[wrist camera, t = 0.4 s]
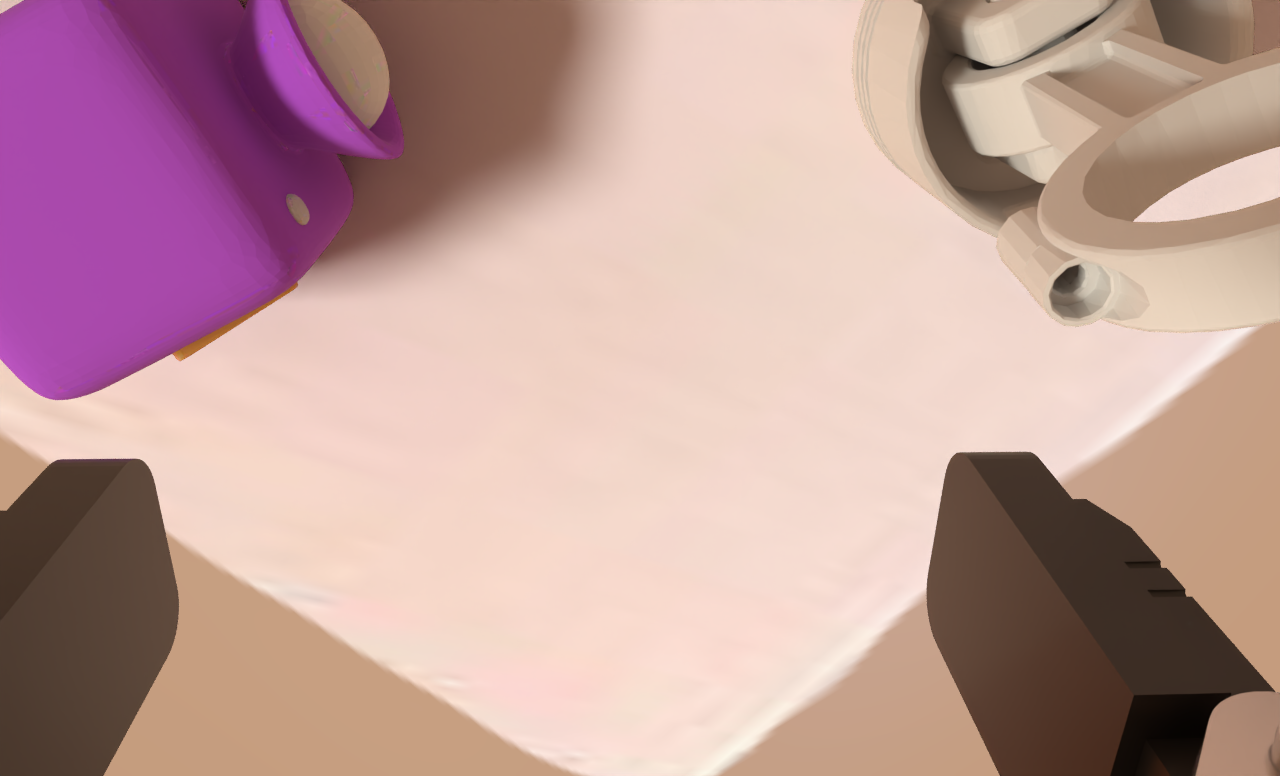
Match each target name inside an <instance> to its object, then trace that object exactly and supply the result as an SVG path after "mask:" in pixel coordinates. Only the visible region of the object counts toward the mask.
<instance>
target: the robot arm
mask: <svg viewBox="0 0 1280 776" xmlns="http://www.w3.org/2000/svg"><path fill="white" fill-rule="evenodd" d="M1160 562H1161V561H1160V560H1159V559H1158V558H1157V556H1156V555H1155V554H1154V553H1153V552H1152V551H1151V550H1150V548H1149V547H1148V546H1147V545H1146V544H1145V543H1144V542H1143V540H1142V539H1141V538H1140V537H1139V536H1138V535H1137V534H1136V533H1135V531H1133V529H1132V528H1131V527H1130V526H1128V525H1126V524H1125V523H1123V522H1122V521H1120V520H1118V519H1117V518H1115V517H1114V516H1112V515H1110V514H1109V513H1107V512H1106V511H1104V510H1102V509H1101V508H1099V507H1098V506H1096V505H1094V504H1093V503H1091V502H1090V501H1088V500H1087V499H1072V498H1071V497H1070V496H1069V494H1068V493H1067V492H1066V491H1065V489H1064V488H1063V487H1062V486H1061V485H1060V483H1059V482H1058V481H1057V480H1056V478H1055V477H1054V476H1053V475H1052V474H1051V472H1050V471H1049V470H1048V469H1047V468H1046V466H1045V465H1044V464H1043V463H1042V461H1041V460H1040V459H1039V458H1038V457H1037V456H1036V455H1035V454H1033V453H1031V452H961V453H956V454H955V455H954V456H953V457H952V458H951V460H950V462H949V464H948V467H947V470H946V474H945V479H944V485H943V490H942V496H941V502H940V508H939V514H938V520H937V525H936V531H935V537H934V543H933V549H932V555H931V560H930V566H929V572H928V579H927V608H928V616H929V622H930V626H931V630H932V633H933V637H934V639H935V641H936V643H937V646H938V648H939V650H940V652H941V654H942V656H943V658H944V660H945V662H946V664H947V666H948V668H949V671H950V673H951V675H952V677H953V679H954V681H955V683H956V685H957V687H958V689H959V691H960V694H961V695H962V698H963V700H964V702H965V704H966V706H967V708H968V710H969V712H970V714H971V716H972V718H973V721H974V723H975V724H976V727H977V728H978V731H979V733H980V735H981V737H982V739H983V741H984V743H985V746H986V747H987V750H988V752H989V754H990V756H991V758H992V760H993V762H994V764H995V766H996V768H997V771H998V773H999V775H1000V776H1280V693H1278V692H1275V691H1274V690H1273V688H1272V687H1271V686H1270V685H1269V684H1268V683H1267V682H1266V680H1264V678H1263V677H1262V676H1261V675H1260V674H1259V672H1257V670H1256V669H1255V668H1254V667H1253V666H1252V665H1251V663H1250V662H1249V661H1248V660H1247V659H1246V658H1245V657H1244V656H1243V654H1242V653H1241V652H1240V651H1239V650H1238V649H1237V647H1236V646H1235V645H1234V644H1233V643H1232V642H1231V641H1230V639H1229V638H1228V637H1227V636H1226V635H1225V634H1224V633H1223V631H1222V630H1221V629H1220V628H1219V627H1218V626H1217V625H1216V623H1215V622H1214V621H1213V620H1212V619H1211V618H1210V617H1209V616H1208V615H1207V613H1206V612H1205V611H1204V610H1203V609H1202V608H1201V606H1200V605H1199V604H1198V603H1197V602H1196V601H1195V600H1194V598H1193V597H1186V594H1185V588H1184V587H1183V586H1182V585H1181V584H1180V583H1179V581H1178V580H1177V579H1176V578H1175V577H1174V576H1173V575H1172V573H1171V572H1170V571H1169V570H1168V569H1167V568H1161V565H1160ZM178 612H179V599H178V590H177V584H176V580H175V575H174V570H173V566H172V561H171V557H170V552H169V547H168V543H167V538H166V533H165V529H164V524H163V519H162V515H161V510H160V505H159V501H158V496H157V491H156V487H155V483H154V479H153V476H152V473H151V471H150V469H149V467H148V466H147V465H146V464H145V462H143V461H142V460H140V459H62V460H56V461H54V462H52V463H51V464H50V465H49V466H48V467H47V468H46V469H45V470H44V471H43V472H42V473H41V474H40V475H39V476H38V477H37V479H36V480H35V481H34V482H33V483H32V484H31V485H30V486H29V487H28V488H27V489H26V490H25V491H24V492H23V494H22V495H21V496H20V497H19V498H18V499H17V500H16V501H15V502H14V503H13V504H12V505H11V506H10V508H9V509H8V510H7V511H0V776H103V775H104V773H105V772H106V770H107V768H108V766H109V764H110V762H111V760H112V759H113V757H114V755H115V753H116V751H117V749H118V748H119V746H120V744H121V742H122V740H123V738H124V736H125V735H126V733H127V731H128V729H129V727H130V725H131V724H132V721H133V720H134V718H135V716H136V714H137V712H138V711H139V708H140V707H141V705H142V703H143V701H144V699H145V698H146V696H147V694H148V692H149V690H150V688H151V687H152V685H153V683H154V681H155V679H156V677H157V675H158V673H159V672H160V670H161V668H162V666H163V664H164V662H165V661H166V659H167V657H168V655H169V653H170V651H171V648H172V645H173V642H174V639H175V635H176V630H177V623H178Z"/></svg>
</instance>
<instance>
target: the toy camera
mask: <svg viewBox="0 0 1280 776" xmlns="http://www.w3.org/2000/svg"><path fill="white" fill-rule="evenodd" d="M389 84H390V79H389V70H388V64H387V61H386V58H385V54H384V51H383V49H382V47H381V45H380V43H379V41H378V39H377V37H376V35H375V34H374V32H373V31H372V29H371V28H370V27H369V25H368V24H367V22H366V21H365V20H364V19H363V18H362V17H361V16H360V15H359V14H358V13H357V12H356V11H355V10H354V9H352V8H351V7H349V6H348V5H347V4H345V3H344V2H343V1H341V0H248V1H247V4H246V7H245V10H244V8H243V7H242V5H241V4H240V2H239V1H238V0H24V1H22V2H20V3H19V4H17V5H15V6H13V7H12V8H10V9H8V10H7V11H5V12H3V13H1V14H0V359H1V360H2V361H3V362H4V364H5V365H6V366H7V367H8V368H9V369H10V370H11V371H12V372H13V373H14V374H15V375H16V376H17V377H18V378H19V379H20V380H21V381H22V382H23V383H24V384H25V385H27V386H28V387H29V388H30V389H32V390H33V391H34V392H36V393H37V394H39V395H41V396H43V397H46V398H48V399H53V400H68V399H73V398H78V397H82V396H85V395H88V394H91V393H93V392H96V391H99V390H101V389H103V388H105V387H108V386H110V385H112V384H114V383H116V382H118V381H120V380H122V379H124V378H125V377H127V376H129V375H131V374H133V373H135V372H137V371H139V370H141V369H143V368H145V367H147V366H149V365H151V364H153V363H155V362H157V361H159V360H161V359H163V358H164V357H166V356H168V355H170V354H173V355H174V356H175V358H176V359H177V360H179V361H181V360H183V359H185V358H187V357H189V356H190V355H192V354H193V353H195V352H197V351H198V350H200V349H201V348H203V347H205V346H206V345H208V344H209V343H211V342H212V341H214V340H216V339H217V338H219V337H220V336H222V335H223V334H225V333H227V332H228V331H230V330H231V329H233V328H234V327H236V326H238V325H239V324H241V323H242V322H244V321H245V320H247V319H248V318H250V317H252V316H253V315H255V314H256V313H258V312H259V311H261V310H263V309H264V308H266V307H267V306H269V305H270V304H272V303H274V302H275V301H277V300H278V299H280V298H281V297H283V296H285V295H286V294H288V293H289V292H291V291H292V290H294V289H295V288H296V287H297V286H298V283H297V281H298V280H299V279H300V278H301V277H302V276H303V275H304V274H305V273H306V272H307V271H308V270H309V268H310V267H311V266H312V265H313V264H314V263H315V261H316V260H317V259H318V258H319V256H320V255H321V254H322V252H323V251H324V250H325V249H326V247H327V246H328V245H329V244H330V242H331V241H332V240H333V238H334V237H335V235H336V234H337V233H338V231H339V230H340V229H341V227H342V226H343V224H344V223H345V221H346V220H347V218H348V216H349V214H350V212H351V209H352V206H353V198H354V195H353V188H352V185H351V182H350V180H349V177H348V175H347V173H346V171H345V169H344V167H343V164H342V163H341V161H340V159H339V158H338V156H337V154H343V155H348V156H355V157H363V158H370V159H395V158H398V157H399V156H401V155H402V153H403V150H404V136H403V131H402V127H401V122H400V119H399V116H398V113H397V110H396V107H395V104H394V102H393V99H392V96H391V94H390V92H389ZM336 153H337V154H336Z"/></svg>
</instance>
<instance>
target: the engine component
mask: <svg viewBox="0 0 1280 776" xmlns="http://www.w3.org/2000/svg"><path fill="white" fill-rule="evenodd" d="M1254 26H1255V23H1254V15H1253V6H1252V0H865V2H864V4H863V7H862V9H861V13H860V17H859V21H858V25H857V29H856V33H855V37H854V43H853V59H852V76H853V84H854V92H855V99H856V102H857V105H858V108H859V111H860V114H861V117H862V120H863V123H864V126H865V127H866V129H867V131H868V132H869V134H870V136H871V137H872V139H873V141H874V142H875V144H876V146H877V147H878V149H879V150H880V151H881V152H882V153H883V154H884V155H885V156H886V157H887V158H888V159H889V160H890V161H891V162H892V164H893V165H894V166H895V167H896V168H897V169H899V170H900V171H901V172H903V173H904V174H905V175H906V176H908V177H909V178H910V179H912V180H913V181H914V182H915V183H917V184H918V185H919V186H921V187H922V188H923V189H924V190H926V191H927V192H928V193H930V194H931V195H932V196H934V197H935V198H936V199H938V200H939V201H940V202H941V203H943V204H944V205H945V206H947V207H948V208H949V209H951V210H952V211H953V212H955V213H956V214H957V215H958V216H960V217H961V218H962V219H964V220H965V221H966V222H968V223H969V224H970V225H971V226H973V227H975V228H978V229H980V230H982V231H984V232H986V233H988V234H990V235H992V236H994V237H996V238H998V239H997V245H996V248H997V250H998V253H999V255H1000V257H1001V260H1002V261H1003V263H1004V264H1005V265H1006V266H1007V267H1008V268H1009V269H1010V271H1011V272H1012V273H1013V274H1014V275H1015V276H1016V277H1017V279H1018V280H1019V281H1020V282H1021V283H1022V284H1023V285H1024V287H1025V288H1026V289H1027V290H1028V291H1029V293H1030V294H1031V295H1032V297H1033V298H1034V299H1035V300H1036V301H1037V303H1038V304H1039V305H1040V306H1041V307H1042V308H1043V310H1044V311H1045V312H1046V313H1047V314H1048V315H1049V317H1051V318H1052V319H1054V320H1056V321H1057V322H1059V323H1061V324H1062V325H1064V326H1074V327H1078V326H1083V325H1088V324H1092V323H1094V322H1096V321H1097V320H1099V319H1101V320H1104V321H1107V322H1109V323H1113V324H1116V325H1119V326H1122V327H1126V328H1132V329H1138V330H1143V331H1149V332H1175V333H1190V332H1212V331H1223V330H1230V329H1238V328H1246V327H1253V326H1260V325H1265V324H1270V323H1275V322H1280V197H1279V198H1276V199H1273V200H1271V201H1267V202H1264V203H1260V204H1257V205H1254V206H1250V207H1247V208H1244V209H1240V210H1237V211H1232V212H1227V213H1222V214H1217V215H1212V216H1207V217H1201V218H1196V219H1191V220H1181V221H1169V222H1133V221H1134V219H1136V218H1137V217H1138V216H1139V215H1140V214H1141V213H1142V212H1144V211H1145V210H1146V209H1147V208H1148V207H1149V206H1151V205H1152V204H1154V203H1155V202H1156V201H1158V200H1159V199H1161V198H1162V197H1163V196H1165V195H1166V194H1168V193H1169V192H1171V191H1173V190H1174V189H1176V188H1178V187H1180V186H1181V185H1183V184H1185V183H1187V182H1188V181H1190V180H1192V179H1194V178H1196V177H1198V176H1200V175H1203V174H1205V173H1207V172H1209V171H1211V170H1213V169H1215V168H1217V167H1220V166H1222V165H1225V164H1228V163H1230V162H1233V161H1235V160H1238V159H1241V158H1243V157H1246V156H1249V155H1253V154H1256V153H1259V152H1262V151H1265V150H1269V149H1272V148H1275V147H1280V47H1278V48H1275V49H1272V50H1268V51H1265V52H1262V53H1258V54H1255V55H1253V46H1254Z"/></svg>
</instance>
